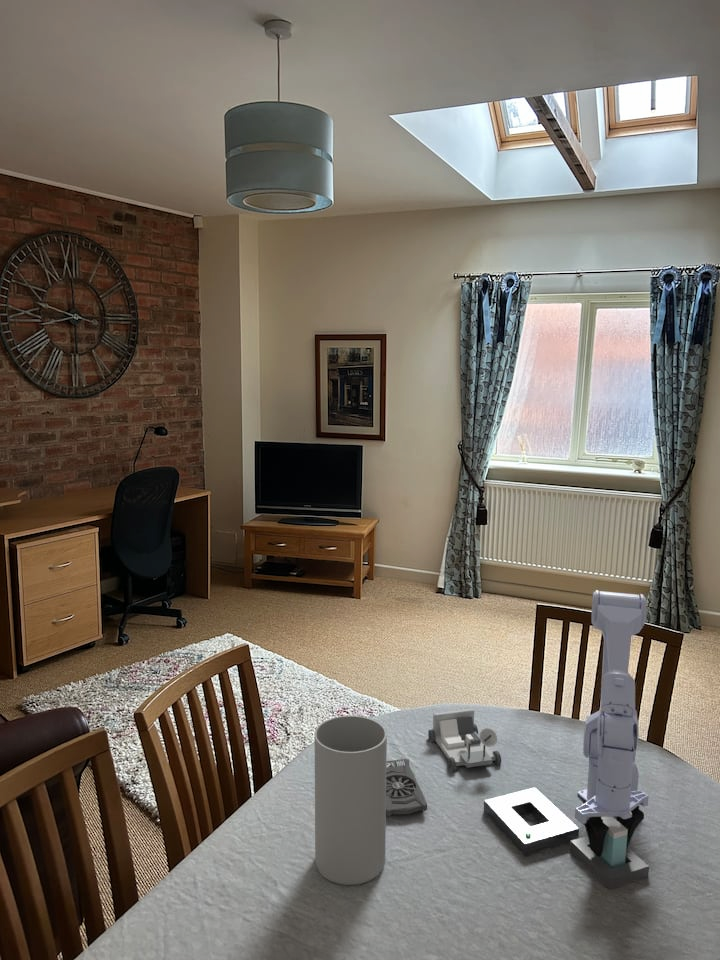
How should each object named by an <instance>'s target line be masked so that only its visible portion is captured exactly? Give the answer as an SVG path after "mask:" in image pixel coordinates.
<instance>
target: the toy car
mask: <svg viewBox="0 0 720 960" xmlns="http://www.w3.org/2000/svg"><path fill="white" fill-rule="evenodd" d="M432 716H433V717H432V718H433V719H432V721H433V722H432V729H428V732H427V733H428V735H427V736H428V740H430V743H436V744H437V745H438V746H439V747H440V749H441V751H442V752H443V754H444V755H445V757H446V758H447V766H448V769H450V771H451V772H452V773H454V772H456V770H457V767H460V766H461V767H462V766H465V767H466V768H474V767H480V766H487V765H493V762H494V761H495V762H494V764H495V765H496V764H497V765H496V766H499V765H501V764H502V756H501V755H502V754H501V753H500V752H499V750H494V751H492V750H491V749H490V748H491V747H492V748H493V747H494V746H496V745H497V743H498V736H497V734H496V732H495V731H494V730H493V729H491V728H487V727H486V728H483V729H482V730H481V731H480V733H479V729H478V725H477V724H476V723H475V709H474V708H472V707H471V708H463V709H457V710H448V711H440V712H434V713H433V715H432Z"/></svg>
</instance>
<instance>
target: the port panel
mask: <svg viewBox="0 0 720 960" xmlns="http://www.w3.org/2000/svg"><path fill="white" fill-rule="evenodd" d="M483 813H484V814H485V815H486V816H487V817H488V818H489V819H490V820H491V822H492V823H493V824H494V825H495V826H496V827H497V828H498V829H499V830H500V831H501V832H502V834H504V836H506V837H505V838H507V839H508V841H510V842H511V844H513V846H514V847H515V848H516V849H517V850H518V851H519V852H520V853H521V855H522V856H524V857H527V856H530V855H533V854H536V853H540V852H543V851H547V850H551V849H554V848H557V847H560V846H564V845H568V844H570V842H571V840H575V839H578V838H580V835H579V834H580V828H579V826H577V824H575V823H574V822H573V821H572V820H571V819H570V818H569V817H567V816H566V814H564V813H563V812H562V811H561V810H560V809H559V808H558V807H557V806H555V805H554V803H552V801H550V799H548V798H547V797H546V796H545V795H544V794H543V793H542V792H540V791H539V789H537V787H531V788H527V789H522V790H519V791H516V792H515V791H514V792H512V793H507V794H504V795H499V796H495V797H490V798H486V799H483ZM528 814H530V815H531V817H533V818H534V819H535V821H537V822H538V823H539V824H535V825H529V824H528V822H526V821H525V819H524V818H522V816H524V815H528Z"/></svg>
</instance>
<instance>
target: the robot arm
mask: <svg viewBox="0 0 720 960" xmlns="http://www.w3.org/2000/svg"><path fill="white" fill-rule="evenodd" d="M591 599H592V600H591V624H592V627H593V628H594V629H595V630H599V631H600V632H601V634H602V637H603V650H602V669H601V683H600V684H601V687H600V703H599V704H600V705H599V706H600V707H599V710H598V711H596V712H594V713H592V714H590V715H589V716H587V717H586V719H585V720H584V721H585V725H584V728H583V744H582V746H583V748H582V750H583V751H582V753H583V756H584V758H588V772H587V774H588V775H587V788H586V789H581V790H578V791H577V796H579V797H580V798H582V799H583V801H585V803H583V804H581V805H580V806H577V807H575V810H574V818H575V820H577V821H578V822H579V824H581V825H583V826H584V828H585V830H586V833H587V836H588V838H589V842H590V848H591V851H592V852H594V853H595V854H596V855H597V856H598V857H599V856H601V855H602V852H603V844H604V839H605V836H606V833H607V831H608V829H609V827H608V826H607V825H605V824H604V823H603V819H601V817H615V819H616V820H617V821H618V822H619V823H621V824H622V825H623V826H624V827H625V828H626V829H628V832H627V845H626V848H627V847H628V848H629V845H630V841H631V840H632V837H633V835H634V832H635V831H636V829H637V828H638V826H639V825H640V824H641V823H642V821H644V820H645V813H644V811H642V810H641V809H639V808H640V806H642V807H647V806H648V805H649V795H648V794H647V793H645V792H644V791H642V790H641V789H640V790H639V789H638V787H639V777H640V776H639V774H640V773H639V770H638V766H637V764H636V753H637V748H638V745H639V738H640V737H639V736H640V735H639V731H640V730H639V729H640V727H639V726H640V725H639V720H638V714H637V709H636V681H635V679H634V678H633V676H631V674H630V673H629V667H630V666H629V665H630V655H631V646H632V644H631V643H632V637H633V636H635V635H637V634H639V633H640V632H641V630H643V627H644V625H645V624H646V617H647V598H646V596H645V595H644V594H643V593H640V594H636V593H624V592H614V591H604V590H603V591H602V590H599V589H595V591H593V592H592V598H591Z"/></svg>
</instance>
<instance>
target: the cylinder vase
mask: <svg viewBox="0 0 720 960" xmlns="http://www.w3.org/2000/svg"><path fill="white" fill-rule="evenodd" d="M387 735H388V734H387V729H386V728H385V727H384V725H383V724H381V723H380V722H379V721H377V720H375V719H373V718H370V717H366V716H361V715H340V716H335V717H332V718H328V719H327V720H324V721H323V722H321V723H320V724H319V725H318V726H317V727H316V729H315V730H314V848H315V849H314V854H315V855H314V859H315V860H314V861H315V867H316V868H317V870H318V872H319V873H320V874H321V875H322V876H323V877H324V878H325V879H327V880H329V881H330V882H333V883H335V884H338V885H344V886H357V885H361V884H366V883H368V882H370V881H372V880H374V879H375V878H377V876H378V875H380V873H381V872H382V871H383V869H384V866H385V863H386V838H387V836H386V833H387V832H386V827H387V825H386V823H387V822H386V821H387V817H386V816H387V815H386V767H387V766H386V764H387V763H386V761H387V749H388V748H387V746H388V744H387V743H388V740H387V739H388V736H387Z"/></svg>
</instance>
